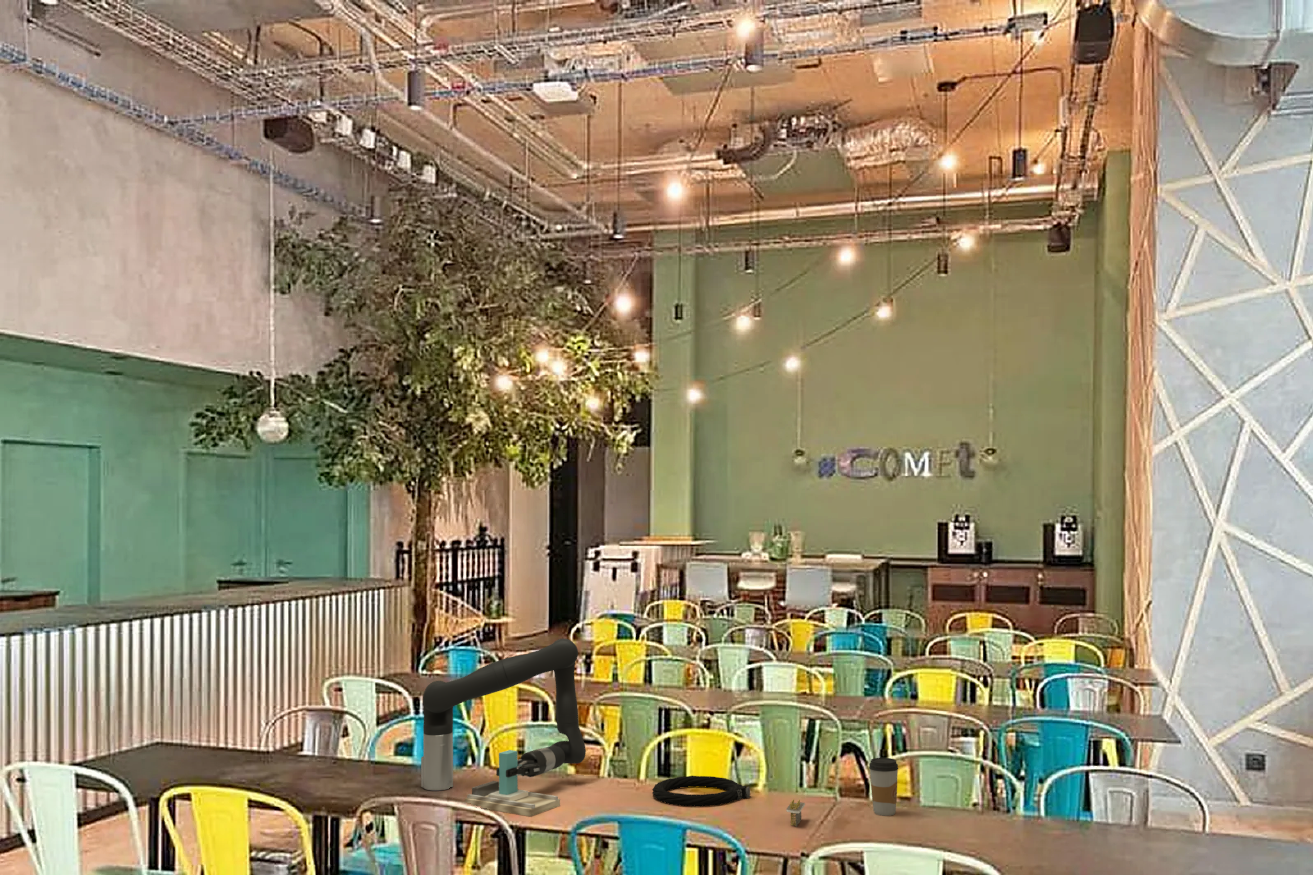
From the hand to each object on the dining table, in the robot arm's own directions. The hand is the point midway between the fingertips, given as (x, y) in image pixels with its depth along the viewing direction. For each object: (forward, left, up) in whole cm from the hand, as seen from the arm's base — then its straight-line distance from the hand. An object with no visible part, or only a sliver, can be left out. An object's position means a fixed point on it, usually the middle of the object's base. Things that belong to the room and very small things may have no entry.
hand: (502, 773), depth 367 cm
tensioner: (0, +3, -8) cm, 8 cm away
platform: (+83, +27, -11) cm, 88 cm away
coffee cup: (+100, +50, -10) cm, 113 cm away
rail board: (+1, +3, -10) cm, 11 cm away
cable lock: (+44, +41, -11) cm, 61 cm away
